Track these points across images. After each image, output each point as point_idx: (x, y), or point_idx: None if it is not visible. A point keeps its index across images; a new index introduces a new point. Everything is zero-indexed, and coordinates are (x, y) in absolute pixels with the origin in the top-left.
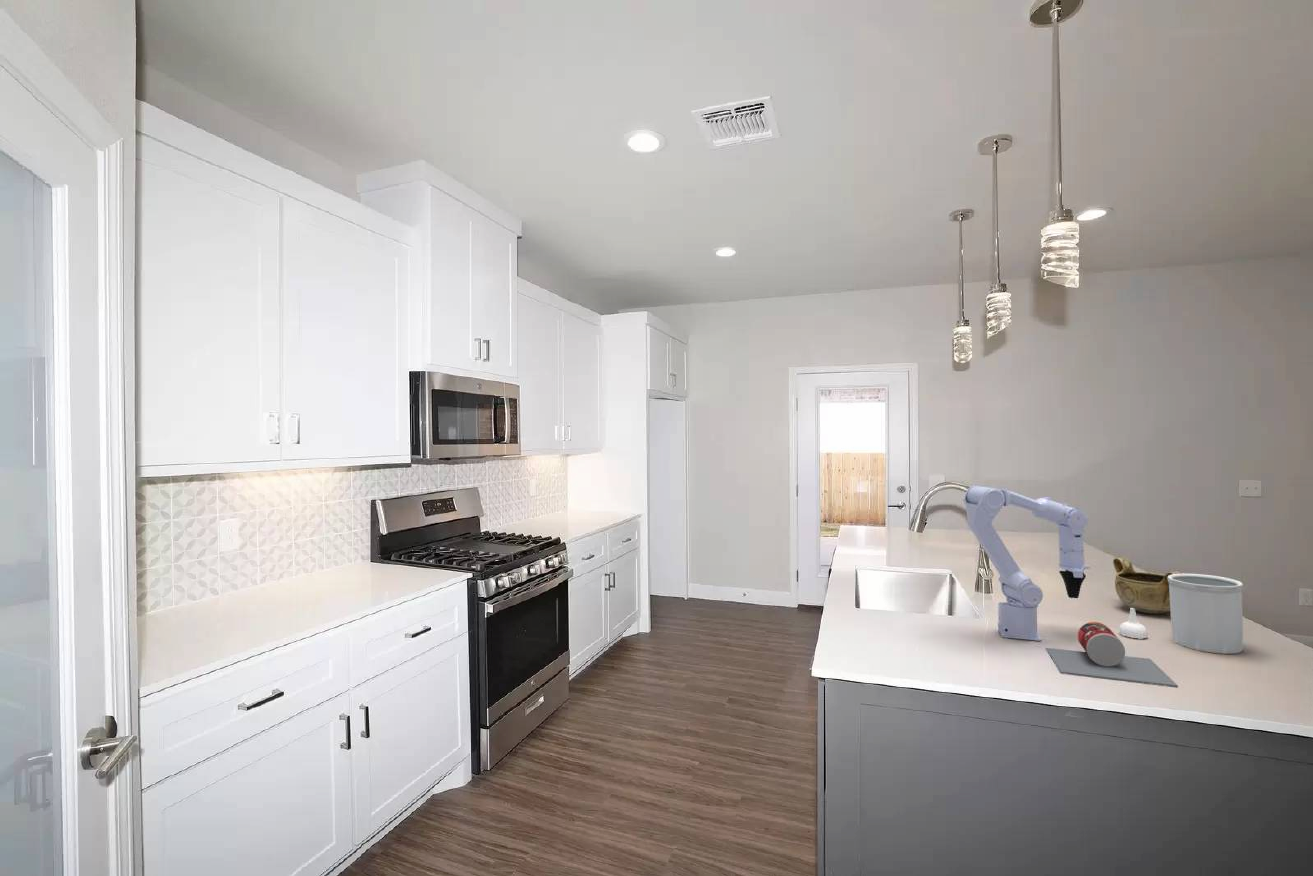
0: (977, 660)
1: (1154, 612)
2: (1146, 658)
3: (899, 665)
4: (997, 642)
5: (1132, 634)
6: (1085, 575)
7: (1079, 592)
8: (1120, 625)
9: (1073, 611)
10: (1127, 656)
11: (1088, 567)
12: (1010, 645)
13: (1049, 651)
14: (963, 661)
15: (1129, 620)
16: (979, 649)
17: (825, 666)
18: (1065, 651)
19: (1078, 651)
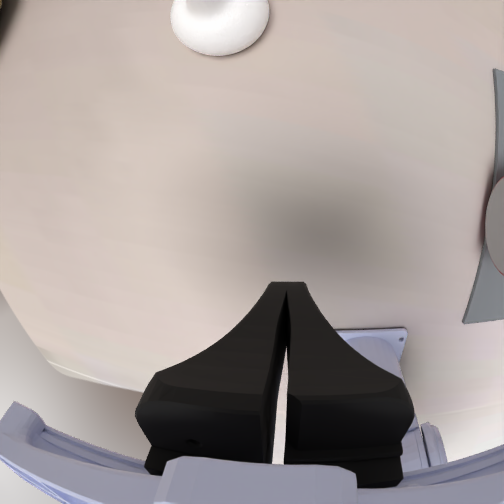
0: (498, 408)
1: (1, 3)
2: (498, 78)
3: None
4: (417, 400)
5: (266, 20)
6: (398, 402)
7: (311, 298)
8: (207, 45)
9: (23, 181)
10: (499, 126)
11: (356, 501)
12: (436, 381)
13: (486, 319)
14: (497, 419)
15: (213, 7)
16: (455, 415)
17: None
18: (487, 285)
19: (487, 253)
